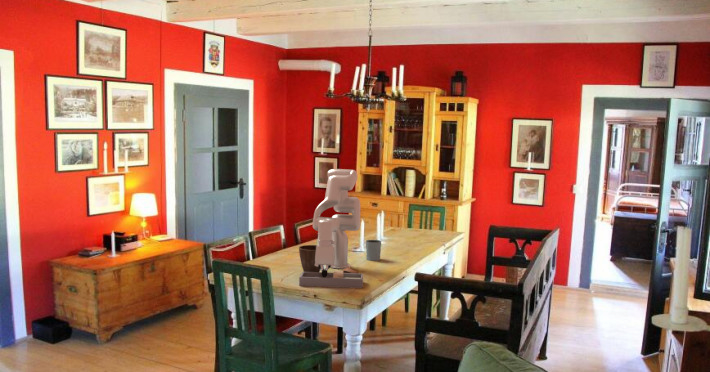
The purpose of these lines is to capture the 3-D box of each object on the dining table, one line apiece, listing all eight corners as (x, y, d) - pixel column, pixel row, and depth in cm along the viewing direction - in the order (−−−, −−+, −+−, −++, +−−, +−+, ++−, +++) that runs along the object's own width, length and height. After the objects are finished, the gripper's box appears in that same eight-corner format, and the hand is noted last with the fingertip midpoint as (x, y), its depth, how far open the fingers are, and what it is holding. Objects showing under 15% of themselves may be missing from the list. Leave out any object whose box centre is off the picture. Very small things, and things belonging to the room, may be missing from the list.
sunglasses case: (350, 280, 308) (344, 269, 308) (339, 285, 310) (334, 274, 310) (359, 272, 325) (354, 262, 325) (349, 277, 327) (344, 267, 328)
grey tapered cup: (379, 261, 355) (380, 242, 354) (363, 260, 357) (364, 241, 356) (381, 258, 365) (382, 240, 364) (366, 257, 367) (367, 239, 366)
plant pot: (305, 271, 326) (306, 243, 324) (329, 274, 320) (329, 246, 319) (293, 276, 312) (294, 248, 311) (318, 280, 307) (318, 251, 305)
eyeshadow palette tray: (302, 279, 306) (302, 271, 306) (362, 281, 305) (363, 273, 305) (299, 285, 295) (299, 277, 294) (362, 287, 293) (362, 279, 293)
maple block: (333, 278, 302) (334, 270, 302) (343, 278, 302) (343, 270, 302) (333, 280, 297) (333, 272, 297) (342, 280, 297) (342, 273, 297)
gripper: (339, 242, 301) (338, 275, 303) (311, 241, 302) (311, 274, 304) (338, 244, 294) (337, 279, 296) (310, 244, 295) (309, 278, 296)
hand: (324, 277), depth 300 cm, fingers closed
